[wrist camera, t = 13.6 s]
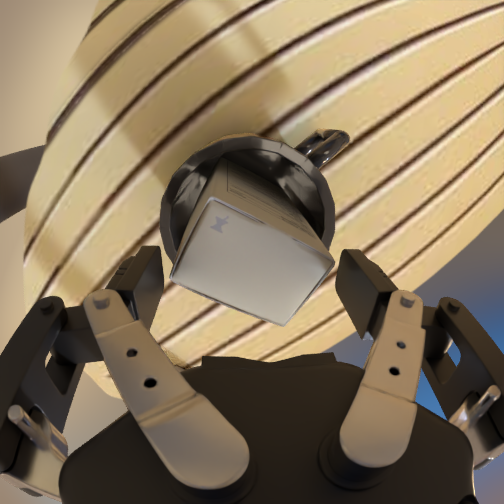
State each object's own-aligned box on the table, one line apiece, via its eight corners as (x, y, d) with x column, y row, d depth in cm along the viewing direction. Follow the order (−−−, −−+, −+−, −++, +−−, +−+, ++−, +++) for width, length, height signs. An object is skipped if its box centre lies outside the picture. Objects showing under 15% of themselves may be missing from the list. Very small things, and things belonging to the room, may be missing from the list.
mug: (241, 270, 26) (244, 326, 19) (159, 193, 23) (126, 227, 16) (354, 176, 23) (400, 201, 16) (277, 83, 19) (298, 63, 12)
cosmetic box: (195, 201, 22) (158, 279, 11) (220, 154, 21) (202, 189, 10) (262, 235, 24) (284, 333, 13) (289, 192, 23) (339, 263, 12)
